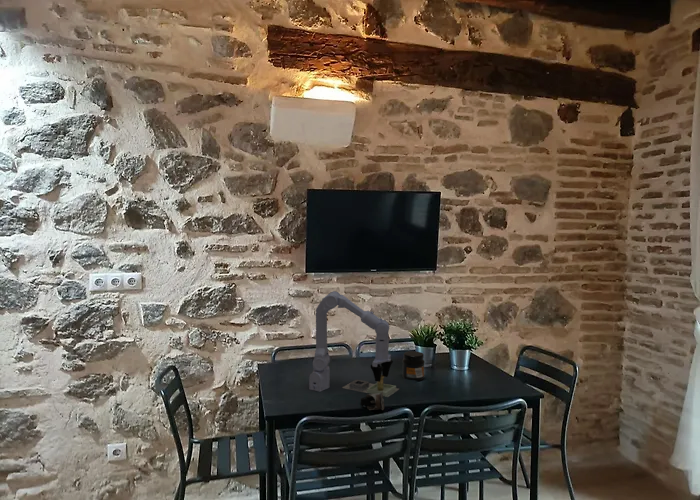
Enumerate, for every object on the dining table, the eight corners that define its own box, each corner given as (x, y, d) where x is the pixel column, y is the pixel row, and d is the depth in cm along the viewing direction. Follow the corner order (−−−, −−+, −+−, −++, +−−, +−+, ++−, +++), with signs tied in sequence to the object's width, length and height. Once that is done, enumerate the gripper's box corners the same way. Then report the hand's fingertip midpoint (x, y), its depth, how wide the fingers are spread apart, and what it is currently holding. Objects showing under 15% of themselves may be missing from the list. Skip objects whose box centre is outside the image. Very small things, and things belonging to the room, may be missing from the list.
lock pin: (382, 391, 223) (382, 377, 222) (375, 390, 225) (375, 376, 224) (385, 389, 226) (385, 375, 225) (378, 388, 228) (378, 374, 227)
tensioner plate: (388, 398, 217) (388, 397, 217) (341, 389, 228) (341, 387, 228) (399, 390, 227) (399, 388, 227) (354, 382, 238) (354, 380, 238)
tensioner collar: (362, 389, 226) (362, 386, 226) (349, 386, 230) (349, 383, 229) (369, 384, 232) (369, 381, 232) (356, 382, 235) (356, 379, 235)
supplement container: (422, 382, 238) (422, 357, 237) (400, 380, 241) (400, 355, 241) (426, 376, 248) (426, 352, 247) (405, 373, 251) (405, 350, 251)
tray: (386, 395, 218) (386, 392, 218) (367, 392, 223) (367, 388, 222) (395, 388, 227) (395, 385, 227) (377, 385, 231) (377, 382, 231)
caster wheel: (363, 408, 213) (387, 406, 211) (358, 412, 202) (383, 410, 200) (361, 391, 214) (385, 389, 212) (357, 395, 203) (381, 393, 201)
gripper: (383, 353, 215) (382, 385, 216) (397, 346, 228) (396, 375, 229) (368, 351, 219) (367, 382, 220) (383, 344, 231) (382, 373, 232)
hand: (381, 378), depth 224 cm, fingers open, 7 cm apart
